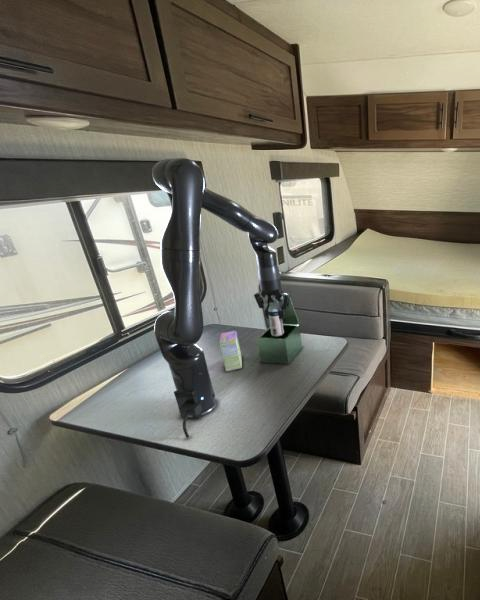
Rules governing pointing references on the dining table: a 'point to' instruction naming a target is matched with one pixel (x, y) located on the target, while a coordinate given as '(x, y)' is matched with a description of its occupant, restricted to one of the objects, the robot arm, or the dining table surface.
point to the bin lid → (288, 313)
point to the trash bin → (280, 345)
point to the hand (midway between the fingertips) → (275, 317)
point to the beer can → (275, 321)
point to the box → (230, 350)
